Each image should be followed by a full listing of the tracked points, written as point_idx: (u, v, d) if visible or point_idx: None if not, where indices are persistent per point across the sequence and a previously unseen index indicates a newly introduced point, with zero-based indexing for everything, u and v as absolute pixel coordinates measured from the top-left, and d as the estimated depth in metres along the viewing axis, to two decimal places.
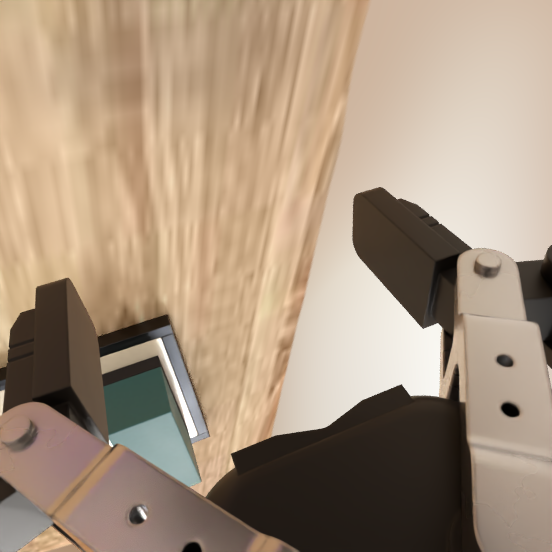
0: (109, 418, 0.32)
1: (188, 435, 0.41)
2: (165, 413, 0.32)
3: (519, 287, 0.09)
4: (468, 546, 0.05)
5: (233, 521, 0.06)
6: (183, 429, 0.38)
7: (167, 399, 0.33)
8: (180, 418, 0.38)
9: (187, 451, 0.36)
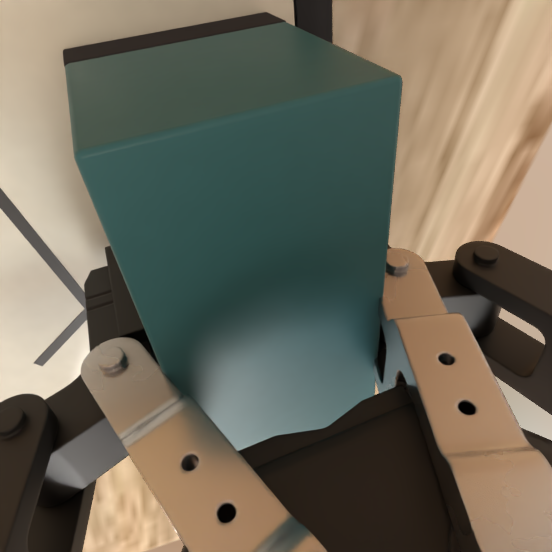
0: (95, 111, 0.06)
1: None
2: (376, 82, 0.06)
3: (422, 286, 0.09)
4: (468, 546, 0.05)
5: (270, 497, 0.06)
6: None
7: (360, 59, 0.07)
8: None
9: (376, 339, 0.10)
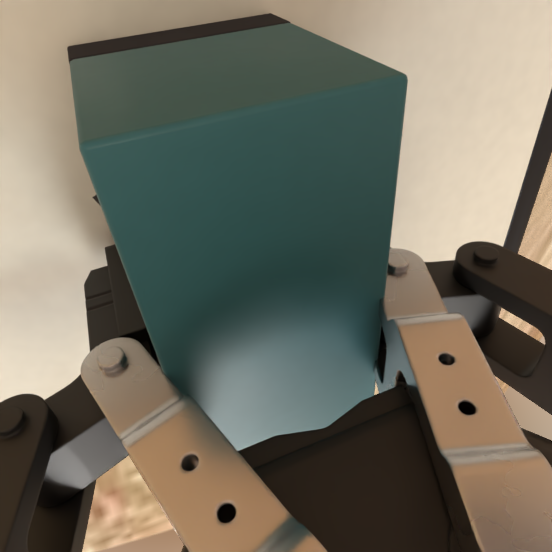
0: (100, 105, 0.06)
1: None
2: (382, 80, 0.06)
3: (422, 286, 0.09)
4: (468, 546, 0.05)
5: (270, 497, 0.06)
6: None
7: (365, 58, 0.07)
8: None
9: (377, 341, 0.10)
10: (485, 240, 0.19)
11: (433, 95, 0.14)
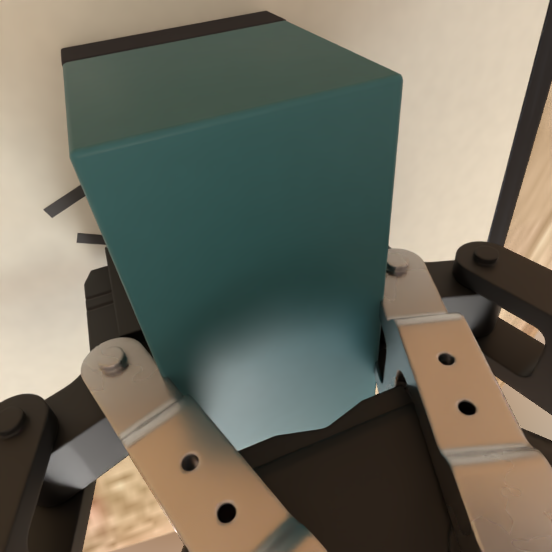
0: (91, 110, 0.06)
1: None
2: (377, 80, 0.06)
3: (422, 286, 0.09)
4: (468, 546, 0.05)
5: (270, 497, 0.06)
6: None
7: (361, 57, 0.07)
8: None
9: (377, 341, 0.10)
10: None
11: None
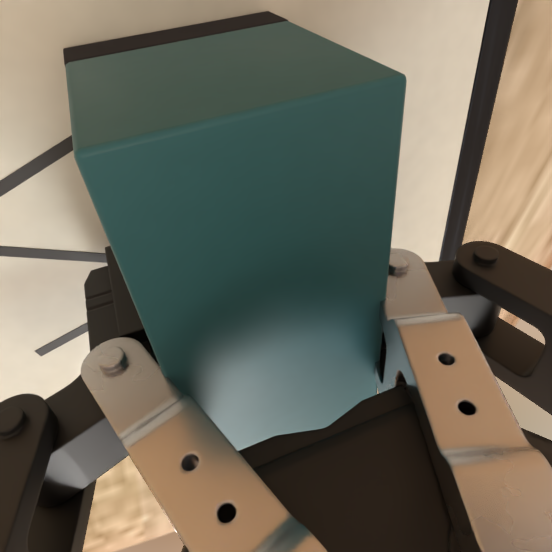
0: (95, 110, 0.06)
1: None
2: (380, 81, 0.06)
3: (422, 286, 0.09)
4: (468, 546, 0.05)
5: (270, 497, 0.06)
6: None
7: (364, 57, 0.07)
8: None
9: (379, 341, 0.10)
10: None
11: None
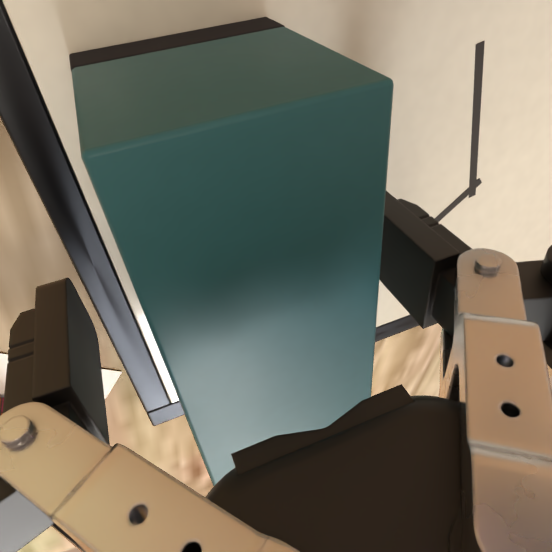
0: (100, 113, 0.07)
1: None
2: (368, 85, 0.07)
3: (519, 287, 0.09)
4: (468, 546, 0.05)
5: (233, 521, 0.06)
6: None
7: (354, 62, 0.08)
8: None
9: (373, 334, 0.10)
10: None
11: None
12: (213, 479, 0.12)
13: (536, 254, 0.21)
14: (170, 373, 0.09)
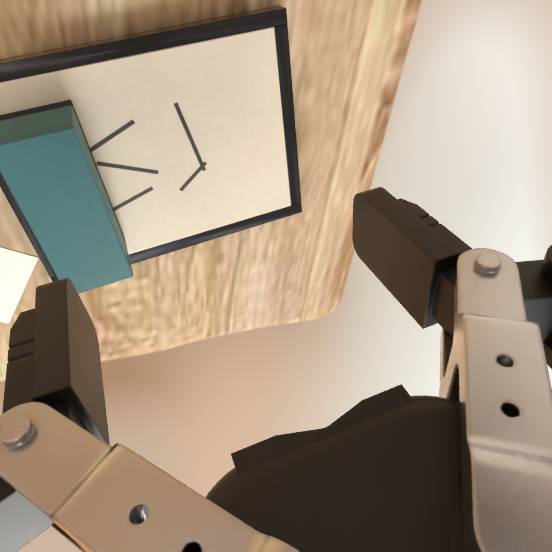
0: None
1: (121, 233, 0.34)
2: (65, 129, 0.25)
3: (519, 287, 0.09)
4: (468, 546, 0.05)
5: (233, 521, 0.06)
6: (107, 201, 0.31)
7: (71, 121, 0.26)
8: (104, 193, 0.32)
9: (106, 213, 0.29)
10: (276, 178, 0.39)
11: (221, 110, 0.34)
12: (56, 274, 0.30)
13: (265, 203, 0.40)
14: (26, 218, 0.27)
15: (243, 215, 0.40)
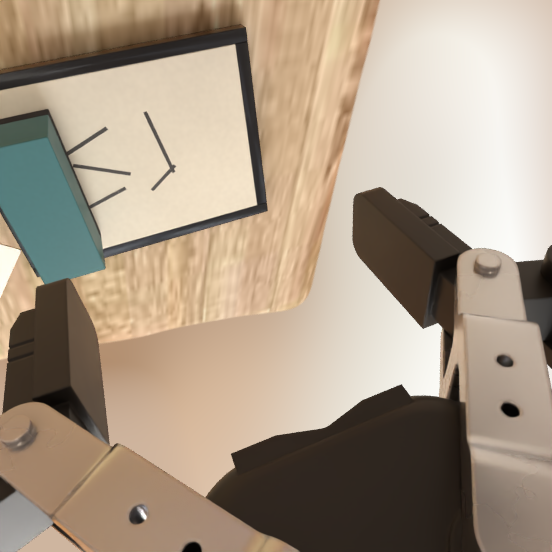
0: None
1: (96, 229, 0.38)
2: (40, 138, 0.29)
3: (519, 287, 0.09)
4: (468, 546, 0.05)
5: (233, 521, 0.06)
6: (81, 201, 0.34)
7: (46, 131, 0.29)
8: (79, 193, 0.35)
9: (79, 212, 0.32)
10: (241, 180, 0.42)
11: (188, 118, 0.37)
12: (34, 266, 0.34)
13: (232, 203, 0.43)
14: (6, 216, 0.31)
15: (212, 213, 0.43)
